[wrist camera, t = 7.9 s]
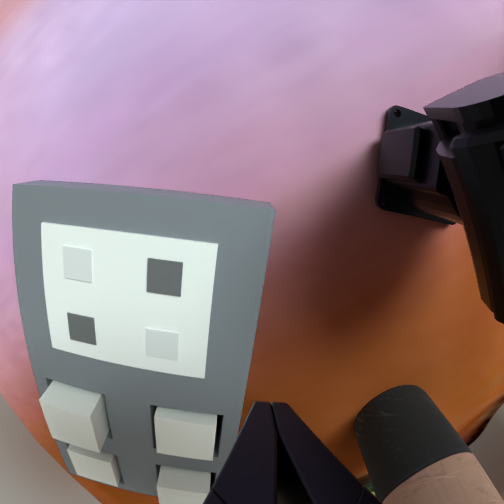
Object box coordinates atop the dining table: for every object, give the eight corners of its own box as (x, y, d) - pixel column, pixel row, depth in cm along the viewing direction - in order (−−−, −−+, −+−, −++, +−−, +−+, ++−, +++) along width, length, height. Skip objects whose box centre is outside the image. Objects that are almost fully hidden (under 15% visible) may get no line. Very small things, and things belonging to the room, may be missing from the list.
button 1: (105, 387, 19) (90, 416, 16) (111, 424, 20) (99, 453, 17) (57, 374, 19) (38, 399, 16) (67, 411, 20) (52, 437, 17)
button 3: (218, 394, 21) (216, 425, 18) (214, 430, 22) (212, 460, 19) (163, 386, 21) (154, 416, 18) (164, 423, 22) (156, 452, 19)
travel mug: (439, 375, 22) (561, 543, 3) (413, 435, 24) (493, 589, 5) (361, 387, 22) (464, 615, 3) (342, 449, 24) (400, 635, 5)
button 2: (120, 436, 22) (110, 463, 19) (125, 462, 23) (117, 486, 20) (79, 425, 22) (66, 449, 19) (87, 451, 23) (77, 474, 20)
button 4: (211, 463, 21) (209, 493, 18) (209, 486, 23) (207, 514, 19) (162, 456, 21) (156, 486, 18) (164, 480, 22) (159, 507, 19)
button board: (269, 202, 18) (276, 210, 15) (224, 481, 25) (224, 507, 22) (39, 180, 17) (9, 184, 14) (78, 452, 24) (68, 475, 20)
